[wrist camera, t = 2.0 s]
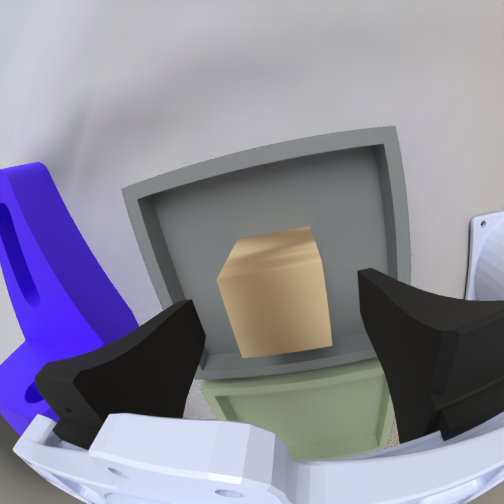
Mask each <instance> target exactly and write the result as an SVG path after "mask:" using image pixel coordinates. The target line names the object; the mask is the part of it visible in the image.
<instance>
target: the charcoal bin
mask: <svg viewBox="0 0 504 504" xmlns="http://www.w3.org/2000/svg"><path fill="white" fill-rule="evenodd" d="M121 190H122V194H123V197H124V201H125V204H126V208H127V211H128V214H129V218H130V221H131V224H132V227H133V230H134V233H135V236H136V239H137V242H138V245H139V248H140V251H141V254H142V257H143V260H144V262H145V265H146V268H147V271H148V273H149V276H150V279H151V281H152V284H153V286H154V289H155V291H156V294H157V296H158V299H159V301H160V304H161V306H162V309H163V311H164V310H165V309H166V308H168V307H170V306H171V305H173V304H174V303H176V302H178V301H182V300H189V299H192V300H193V303H194V306H195V309H196V311H197V314H198V316H199V319H200V322H201V324H202V327H203V329H204V332H205V334H206V339H205V345H204V350H203V354H202V357H201V360H200V363H199V366H198V368H197V371H196V374H195V376H194V378H195V380H196V379H225V378H241V377H254V376H264V375H274V374H283V373H291V372H298V371H305V370H312V369H318V368H324V367H330V366H335V365H341V364H346V363H351V362H356V361H360V360H365V359H369V358H374V357H377V355H376V353H375V350H374V348H373V346H372V344H371V341H370V339H369V337H368V335H367V333H366V330H365V327H364V324H363V321H362V317H361V314H360V303H359V288H358V275H357V270H362V269H367V268H373V269H376V270H378V271H380V272H382V273H384V274H386V275H388V276H390V277H392V278H394V279H396V280H398V281H401V282H403V283H405V284H407V285H410V282H411V258H410V231H409V216H408V204H407V195H406V186H405V178H404V171H403V164H402V158H401V152H400V147H399V141H398V136H397V131H396V127H395V126H387V127H377V128H368V129H359V130H351V131H344V132H337V133H331V134H324V135H318V136H312V137H307V138H301V139H296V140H291V141H286V142H281V143H276V144H271V145H267V146H262V147H258V148H254V149H249V150H245V151H241V152H237V153H233V154H229V155H225V156H222V157H218V158H214V159H211V160H207V161H204V162H200V163H197V164H193V165H190V166H187V167H183V168H180V169H177V170H174V171H171V172H168V173H165V174H162V175H159V176H156V177H153V178H150V179H147V180H144V181H141V182H138V183H136V184H133V185H130V186H127V187H125V188H122V189H121ZM306 226H310V227H311V230H312V233H313V236H314V239H315V242H316V245H317V248H318V251H319V254H320V257H321V260H322V266H323V272H324V279H325V287H326V294H327V302H328V310H329V318H330V327H331V336H332V346H328V347H323V348H317V349H311V350H304V351H298V352H291V353H284V354H276V355H268V356H259V357H249V358H242V355H241V353H240V350H239V347H238V344H237V341H236V338H235V335H234V332H233V329H232V326H231V323H230V320H229V317H228V314H227V311H226V308H225V305H224V302H223V299H222V296H221V293H220V289H219V286H218V283H217V280H216V279H217V278H218V276H219V274H220V272H221V270H222V268H223V266H224V264H225V262H226V260H227V258H228V257H229V255H230V253H231V251H232V249H233V247H234V245H235V243H236V241H237V240H239V239H244V238H249V237H254V236H259V235H265V234H270V233H275V232H280V231H285V230H290V229H295V228H301V227H306Z"/></svg>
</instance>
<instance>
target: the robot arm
mask: <svg viewBox="0 0 504 504" xmlns="http://www.w3.org/2000/svg"><path fill="white" fill-rule="evenodd" d="M482 221H483V224H482V226H481V222H482ZM357 275H358V288H359V303H360V314H361V317H362V321H363V324H364V327H365V330H366V333H367V335H368V337H369V339H370V341H371V344H372V346H373V348H374V350H375V353H376V355H377V357H378V359H379V362H380V364H381V366H382V369H383V371H384V374H385V377H386V381H387V384H388V388H389V392H390V396H391V400H392V404H393V409H394V413H395V418H396V424H397V429H398V435H399V442H400V444H399V445H396V446H392V447H389V448H385V449H381V450H377V451H373V452H369V453H364V454H360V455H355V456H350V457H345V458H339V459H333V460H302V459H292V458H291V456H290V453H289V451H288V448H287V445H286V444H285V443H284V442H283V441H282V440H281V439H280V438H279V437H278V436H277V435H276V434H275V433H274V432H272V431H270V430H267V429H264V428H262V427H259V426H256V425H254V424H251V423H247V422H238V421H229V420H204V419H182V418H183V413H184V408H185V404H186V399H187V396H188V393H189V390H190V387H191V384H192V382H193V379H194V376H195V374H196V371H197V368H198V366H199V363H200V360H201V357H202V354H203V350H204V345H205V339H206V334H205V332H204V329H203V327H202V324H201V322H200V319H199V316H198V314H197V311H196V309H195V306H194V303H193V300H192V299H189V300H182V301H178V302H176V303H174V304H173V305H171V306H170V307H168V308H166V309H165V310H164V311H162V312H161V313H159V314H158V315H156V316H155V317H153V318H152V319H151V320H149V321H148V322H146V323H145V324H143V325H141V326H140V327H138V328H137V329H135V330H134V331H132V332H130V333H129V334H127V335H125V336H124V337H122V338H120V339H118V340H116V341H114V342H112V343H110V344H108V345H105V346H103V347H100V348H98V349H96V350H93V351H90V352H88V353H85V354H81V355H78V356H75V357H71V358H67V359H62V360H57V361H51V362H48V363H46V364H45V365H44V366H43V367H42V368H41V370H40V371H39V372H38V373H37V374H36V375H35V379H34V380H35V384H36V387H37V389H38V391H39V392H40V394H41V395H42V397H43V398H44V399H45V401H46V402H47V403H48V404H49V406H50V407H51V408H52V409H53V411H54V412H55V413H56V414H57V415H58V416H59V418H60V419H59V421H58V422H57V423H56V422H55V421H54V420H52V419H50V418H48V417H45V416H43V415H40V414H37V415H36V417H35V418H34V419H33V421H32V422H31V424H30V425H29V426H28V428H27V429H26V430H25V432H24V433H23V435H22V436H21V438H20V439H19V440H18V442H17V443H16V445H15V446H14V448H13V451H14V452H15V453H16V454H17V455H18V456H19V457H20V458H21V459H23V460H24V461H25V462H26V463H27V464H28V465H29V466H30V467H32V468H33V469H34V470H35V471H36V472H38V473H39V474H40V475H41V476H42V477H44V478H45V479H46V480H47V481H49V482H50V483H51V484H53V485H55V486H57V487H58V488H60V489H62V490H63V491H65V492H67V493H69V494H70V495H72V496H74V497H76V498H77V499H79V500H81V501H83V502H85V503H87V504H466V503H467V502H469V501H471V500H473V499H474V498H476V497H478V496H480V495H481V494H483V493H485V492H486V491H488V490H489V489H491V488H493V487H494V486H496V485H497V484H499V483H500V482H502V481H503V480H504V211H501V212H497V213H492V214H487V215H482V216H477V217H474V218H473V219H472V221H471V234H470V257H469V270H468V280H467V288H466V296H465V300H464V299H456V298H451V297H445V296H441V295H437V294H433V293H430V292H426V291H423V290H420V289H417V288H415V287H412V286H410V285H407V284H405V283H403V282H401V281H398V280H396V279H394V278H392V277H390V276H388V275H386V274H384V273H382V272H380V271H378V270H376V269H373V268H367V269H362V270H357Z"/></svg>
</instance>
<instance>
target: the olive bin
mask: <svg viewBox="0 0 504 504" xmlns="http://www.w3.org/2000/svg"><path fill="white" fill-rule="evenodd" d="M201 391H202V393H203V395H204V397H205V399H206V400H207V402H208V404H209V406H210V408H211V409H212V411H213V413H214V415H215V417H216V418H217V420H229V421H238V422H247V423H251V424H254V425H256V426H259V427H262V428H264V429H267V430H270V431H272V432H274V433H275V434H276V435H277V436H278V437H279V438H280V439H281V440H282V441H283V442H284V443H285V444H286V445H287V448H288V451H289V453H290V456H291V458H292V459H302V460H333V459H339V458H345V457H350V456H355V455H360V454H364V453H369V452H373V451H377V450H381V449H385V448H386V447H387V443H388V440H389V436H390V432H391V428H392V424H393V420H394V416H395V413H394V409H393V404H392V400H391V396H390V392H389V388H388V384H387V381H386V377H385V374H384V371H383V369H382V366H381V364H380V362H379V359H378V357H374V358H369V359H365V360H360V361H356V362H351V363H346V364H341V365H335V366H330V367H324V368H318V369H312V370H305V371H298V372H291V373H283V374H274V375H264V376H254V377H241V378H225V379H204V380H203V383H202V386H201Z"/></svg>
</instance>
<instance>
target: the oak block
mask: <svg viewBox="0 0 504 504" xmlns="http://www.w3.org/2000/svg"><path fill="white" fill-rule="evenodd" d="M216 280H217V283H218V286H219V289H220V293H221V296H222V299H223V302H224V305H225V308H226V311H227V314H228V317H229V320H230V323H231V326H232V329H233V332H234V335H235V338H236V341H237V344H238V347H239V350H240V353H241V355H242V358H249V357H259V356H268V355H276V354H284V353H291V352H298V351H304V350H311V349H317V348H323V347H328V346H332V336H331V327H330V318H329V310H328V302H327V294H326V287H325V279H324V272H323V266H322V260H321V257H320V254H319V251H318V248H317V245H316V242H315V239H314V236H313V233H312V230H311V227H310V226H306V227H301V228H295V229H290V230H285V231H280V232H275V233H270V234H265V235H259V236H254V237H249V238H244V239H239V240H237V241H236V243H235V245H234V247H233V249H232V251H231V253H230V255H229V257H228V258H227V260H226V262H225V264H224V266H223V268H222V270H221V272H220V274H219V276H218V278H217V279H216Z"/></svg>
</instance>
